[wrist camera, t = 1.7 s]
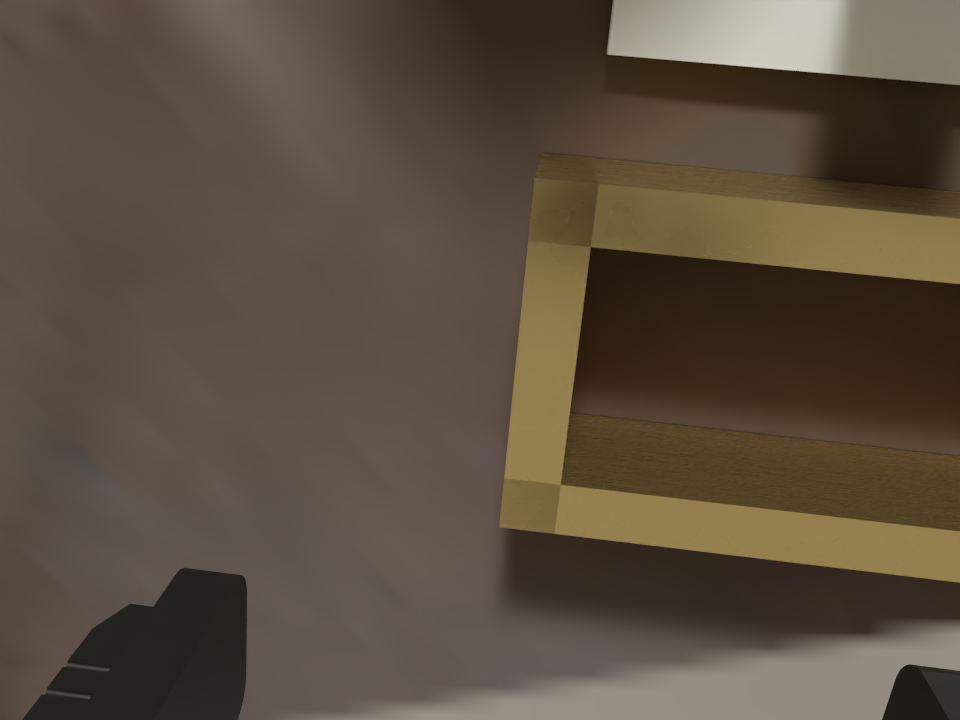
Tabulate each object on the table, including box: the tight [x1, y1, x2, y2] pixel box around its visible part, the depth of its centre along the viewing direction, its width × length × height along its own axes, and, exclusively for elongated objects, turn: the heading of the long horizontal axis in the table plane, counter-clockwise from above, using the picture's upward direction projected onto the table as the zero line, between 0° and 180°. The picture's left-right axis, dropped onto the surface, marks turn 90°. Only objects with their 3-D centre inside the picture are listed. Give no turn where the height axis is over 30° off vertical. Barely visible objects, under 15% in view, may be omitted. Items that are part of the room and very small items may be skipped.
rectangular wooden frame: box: [499, 153, 960, 583], centre depth 22 cm, size 15×9×4 cm, turn 85°
